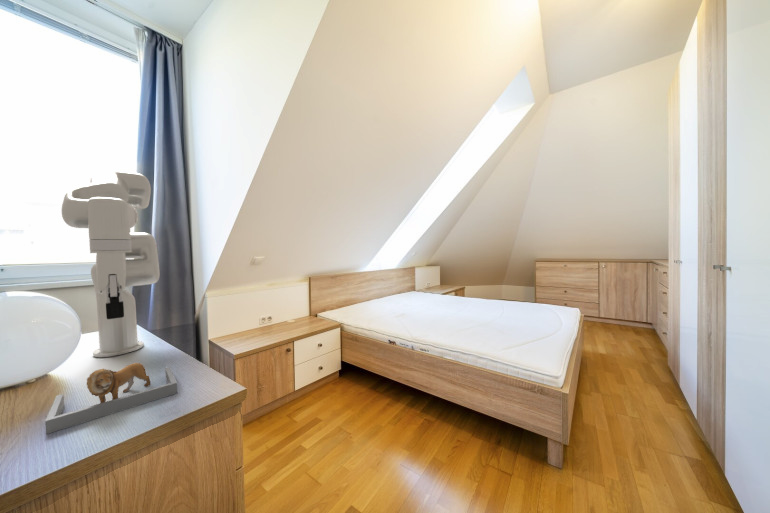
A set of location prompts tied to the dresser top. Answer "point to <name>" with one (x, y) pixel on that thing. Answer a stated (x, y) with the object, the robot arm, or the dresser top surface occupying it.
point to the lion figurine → (115, 380)
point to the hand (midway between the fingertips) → (115, 317)
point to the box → (106, 405)
